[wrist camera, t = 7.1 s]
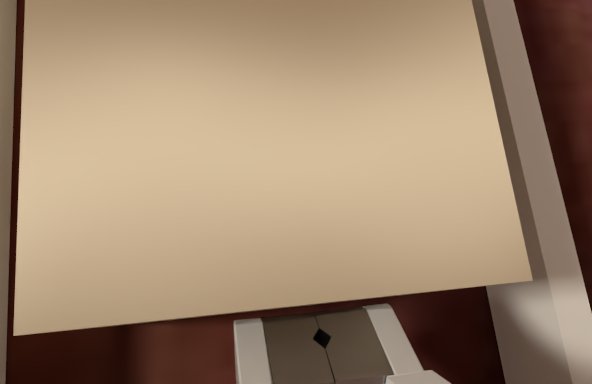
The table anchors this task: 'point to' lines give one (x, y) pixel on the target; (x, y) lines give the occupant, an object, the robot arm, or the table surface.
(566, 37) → the table surface
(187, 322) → the table surface
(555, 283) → the box
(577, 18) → the table surface
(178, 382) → the table surface
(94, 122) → the birch block
